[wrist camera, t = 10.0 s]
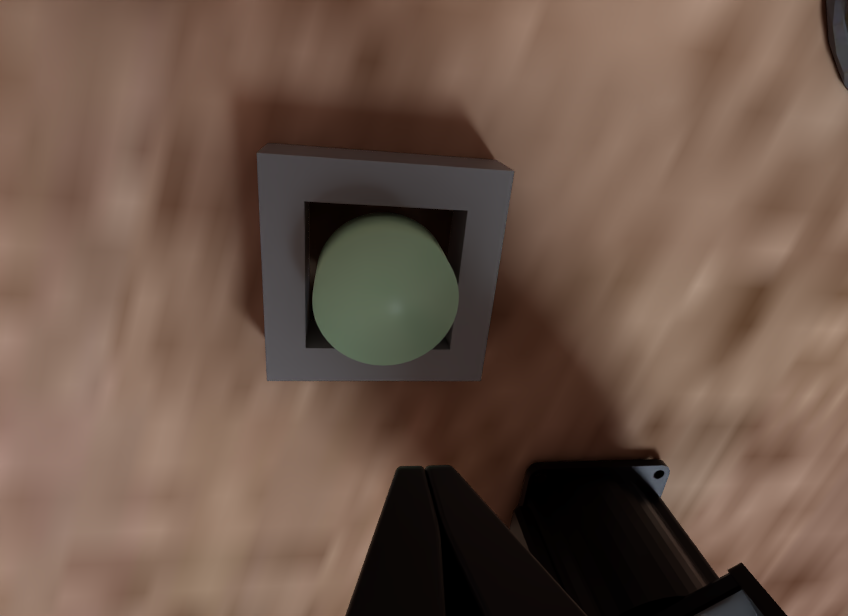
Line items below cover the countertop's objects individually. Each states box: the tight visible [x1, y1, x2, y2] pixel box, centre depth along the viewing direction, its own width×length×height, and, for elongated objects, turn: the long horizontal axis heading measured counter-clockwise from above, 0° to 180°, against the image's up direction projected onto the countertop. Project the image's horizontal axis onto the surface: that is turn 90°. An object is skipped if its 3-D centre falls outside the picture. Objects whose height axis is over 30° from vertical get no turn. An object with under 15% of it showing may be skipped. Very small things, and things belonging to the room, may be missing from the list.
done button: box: [312, 212, 459, 366], centre depth 15 cm, size 4×4×2 cm
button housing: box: [257, 143, 514, 381], centre depth 16 cm, size 7×7×2 cm
